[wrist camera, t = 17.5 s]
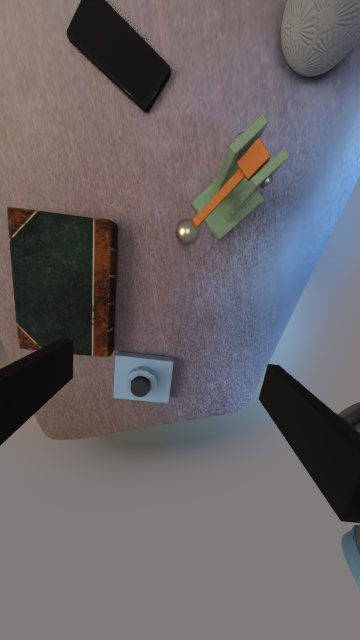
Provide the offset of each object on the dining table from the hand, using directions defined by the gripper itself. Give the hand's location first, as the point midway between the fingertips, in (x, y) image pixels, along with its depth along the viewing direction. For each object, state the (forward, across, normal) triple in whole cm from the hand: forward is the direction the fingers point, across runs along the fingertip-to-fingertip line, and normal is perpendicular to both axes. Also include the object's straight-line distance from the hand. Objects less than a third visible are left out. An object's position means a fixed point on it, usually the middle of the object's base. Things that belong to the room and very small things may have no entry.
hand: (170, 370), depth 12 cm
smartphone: (+26, -14, +38) cm, 48 cm away
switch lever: (+18, +4, +17) cm, 25 cm away
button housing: (+25, -5, -16) cm, 30 cm away
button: (+22, -5, -16) cm, 27 cm away
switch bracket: (+25, +7, +20) cm, 33 cm away
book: (+26, -21, +1) cm, 33 cm away
